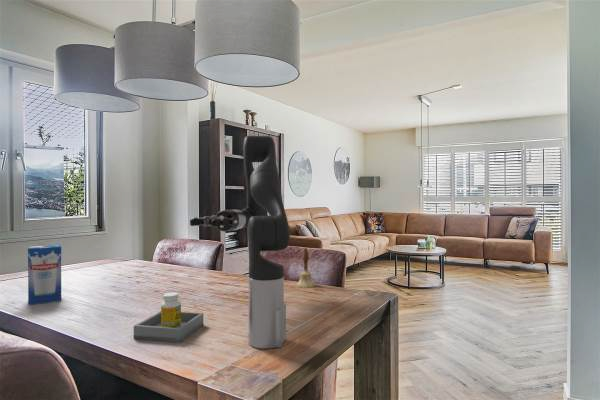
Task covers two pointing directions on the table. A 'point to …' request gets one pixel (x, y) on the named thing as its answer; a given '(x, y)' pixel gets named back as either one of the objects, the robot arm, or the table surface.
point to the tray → (168, 328)
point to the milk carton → (44, 274)
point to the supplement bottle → (171, 311)
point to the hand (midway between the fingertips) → (201, 222)
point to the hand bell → (305, 273)
